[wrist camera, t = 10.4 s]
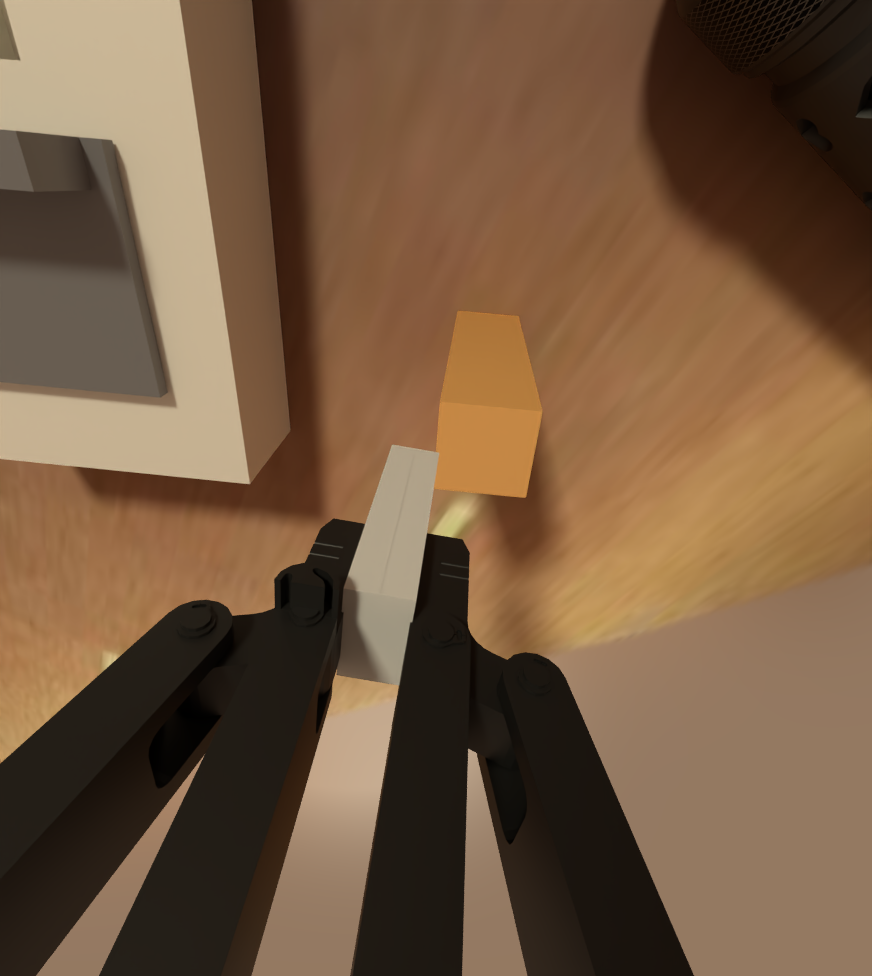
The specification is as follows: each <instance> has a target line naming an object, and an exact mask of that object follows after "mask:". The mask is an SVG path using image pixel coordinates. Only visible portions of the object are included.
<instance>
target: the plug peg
mask: <svg viewBox="0 0 872 976" xmlns="http://www.w3.org/2000/svg"><path fill="white" fill-rule="evenodd" d="M542 412H543V411H542V407H541V403H540V399H539V395H538V391H537V387H536V383H535V379H534V375H533V371H532V367H531V363H530V360H529V356H528V352H527V348H526V344H525V340H524V336H523V332H522V328H521V324H520V320H519V316H513V315H502V314H491V313H480V312H468V311H458V312H457V317H456V322H455V327H454V333H453V338H452V343H451V348H450V353H449V358H448V363H447V368H446V373H445V378H444V384H443V389H442V394H441V399H440V407H439V420H438V433H437V446H436V452H438V453H439V458H438V464H437V471H436V477H435V484H434V489H442V490H452V491H462V492H472V493H482V494H491V495H501V496H511V497H521V498H526V495H527V489H528V484H529V479H530V474H531V469H532V464H533V459H534V453H535V448H536V443H537V438H538V433H539V428H540V423H541V417H542Z"/></svg>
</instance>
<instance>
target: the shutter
mask: <svg viewBox="0 0 872 976" xmlns="http://www.w3.org/2000/svg"><path fill="white" fill-rule="evenodd" d="M0 382H4V383H14V384H24V385H35V386H45V387H55V388H66V389H76V390H86V391H97V392H107V393H117V394H127V395H138V396H148V397H158V398H161V397H162V396H164V395H165V394H167V393H168V391H167V386H166V381H165V377H164V372H163V368H162V363H161V359H160V354H159V350H158V345H157V341H156V336H155V332H154V327H153V323H152V318H151V314H150V309H149V305H148V300H147V295H146V291H145V286H144V282H143V277H142V273H141V268H140V264H139V259H138V255H137V250H136V246H135V241H134V237H133V232H132V228H131V223H130V219H129V214H128V209H127V205H126V200H125V196H124V191H123V187H122V182H121V178H120V173H119V169H118V164H117V160H116V155H115V151H114V146H113V142H112V140H106V139H96V138H83V137H73V136H63V135H53V134H43V133H33V132H23V131H13V130H1V129H0Z"/></svg>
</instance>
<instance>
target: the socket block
mask: <svg viewBox="0 0 872 976" xmlns="http://www.w3.org/2000/svg"><path fill="white" fill-rule="evenodd" d="M0 129H1V130H13V131H23V132H33V133H43V134H53V135H63V136H73V137H83V138H96V139H106V140H112V142H113V146H114V151H115V155H116V160H117V164H118V169H119V173H120V178H121V182H122V187H123V191H124V196H125V200H126V205H127V209H128V214H129V219H130V223H131V228H132V232H133V237H134V241H135V246H136V250H137V255H138V259H139V264H140V268H141V273H142V277H143V282H144V286H145V291H146V295H147V300H148V305H149V309H150V314H151V318H152V323H153V327H154V332H155V336H156V341H157V345H158V350H159V354H160V359H161V363H162V368H163V372H164V377H165V381H166V386H167V391H168V393H167V394H165V395H164V396H162V397H161V398H158V397H148V396H138V395H127V394H117V393H107V392H97V391H86V390H76V389H66V388H55V387H45V386H35V385H24V384H14V383H4V382H0V459H8V460H17V461H27V462H37V463H47V464H57V465H66V466H76V467H86V468H96V469H106V470H116V471H125V472H135V473H145V474H155V475H165V476H174V477H184V478H194V479H204V480H214V481H224V482H233V483H243V484H250V483H251V482H252V481H253V479H254V478H255V477H256V476H257V474H258V473H259V472H260V470H261V469H262V468H263V466H264V465H265V464H266V462H267V461H268V460H269V458H270V457H271V456H272V455H273V453H274V452H275V451H276V449H277V448H278V447H279V445H280V444H281V443H282V441H283V440H284V439H285V437H286V436H287V435H288V433H289V432H290V431H291V430H290V419H289V407H288V396H287V385H286V374H285V363H284V352H283V341H282V330H281V319H280V308H279V296H278V285H277V274H276V263H275V252H274V241H273V230H272V219H271V208H270V196H269V185H268V174H267V163H266V152H265V141H264V130H263V119H262V108H261V97H260V85H259V74H258V63H257V52H256V41H255V30H254V19H253V8H252V0H0Z"/></svg>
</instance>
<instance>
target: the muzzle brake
mask: <svg viewBox="0 0 872 976" xmlns="http://www.w3.org/2000/svg"><path fill="white" fill-rule="evenodd" d="M676 3H677V11H678V14H679V17H680V18H681V19H682V20H683V21H684V22H685V23H686V24H687V25H688V27H689V28H690V29H691V30H692V31H693V32H694V33H695V34H696V35H697V36H698V37H699V38H700V39H701V40H702V42H703V43H704V44H705V45H706V46H707V47H708V48H709V49H710V50H711V51H712V52H713V53H714V54H715V55H716V57H717V58H718V59H719V60H720V61H721V62H722V63H723V64H724V65H725V66H726V67H727V68H728V69H729V70H730V71H731V72H732V73H733V74H740V73H743V74H744V75H745V76H746V77H748V78H753V77H757V76H759V75H761V74H763V73H765V74H766V75H767V76H768V77H769V78H770V79H771V80H772V81H773V85H772V90H771V99H772V104H773V105H774V107H775V108H776V109H777V110H778V111H779V112H780V113H781V114H782V115H783V116H784V117H785V118H786V119H787V120H788V121H789V122H790V123H791V124H792V126H793V127H794V128H795V129H796V130H797V131H798V132H799V133H800V134H801V135H802V136H803V137H804V139H805V140H806V141H807V142H808V143H809V144H810V145H811V146H812V147H813V148H814V149H815V150H816V152H817V153H818V154H819V155H820V156H821V157H822V158H823V159H824V160H825V161H826V162H827V163H828V164H829V166H830V167H831V168H832V169H833V170H834V171H835V172H836V173H837V174H838V175H839V176H840V177H841V179H842V180H843V181H844V182H845V183H846V184H847V185H848V186H849V187H850V188H851V189H852V190H853V192H854V193H855V194H856V195H857V196H858V197H859V198H860V199H861V200H862V201H863V202H864V203H865V204H866V206H867V207H868V208H869V209H870V210H871V211H872V0H676Z"/></svg>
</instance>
